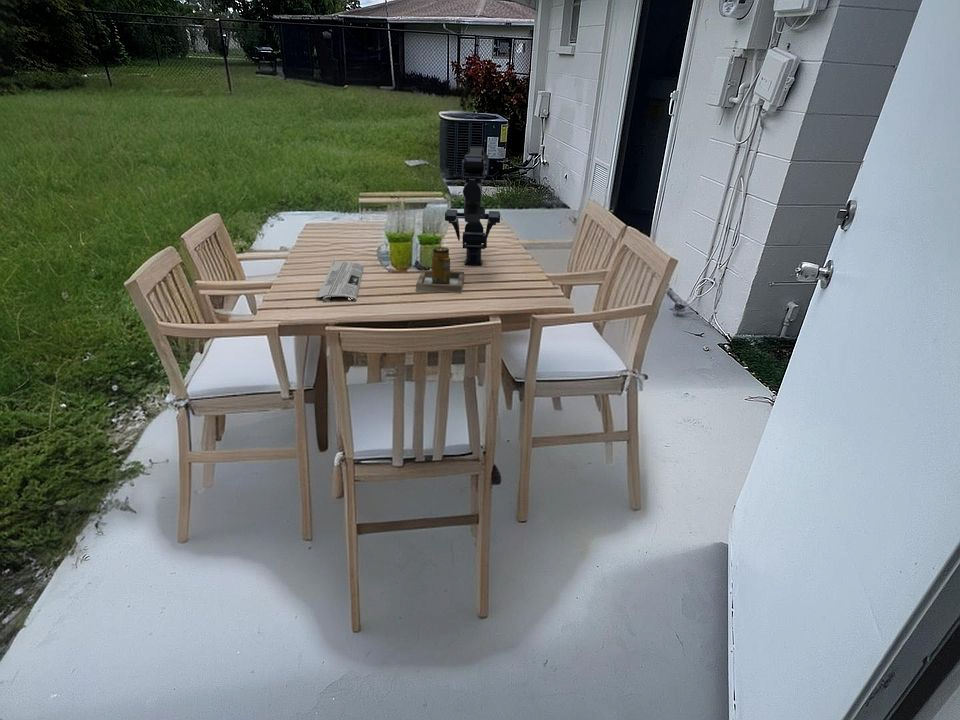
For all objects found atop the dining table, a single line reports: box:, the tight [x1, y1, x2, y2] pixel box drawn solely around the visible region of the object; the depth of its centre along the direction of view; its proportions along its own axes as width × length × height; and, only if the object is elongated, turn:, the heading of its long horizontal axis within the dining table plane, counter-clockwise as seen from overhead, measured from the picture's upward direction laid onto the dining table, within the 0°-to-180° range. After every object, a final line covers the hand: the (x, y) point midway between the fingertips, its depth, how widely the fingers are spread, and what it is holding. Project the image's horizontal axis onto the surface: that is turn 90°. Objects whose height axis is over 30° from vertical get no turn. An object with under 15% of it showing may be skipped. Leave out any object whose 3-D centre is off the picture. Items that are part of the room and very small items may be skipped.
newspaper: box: [315, 259, 364, 303], centre depth 193 cm, size 35×12×4 cm, turn 6°
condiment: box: [428, 246, 455, 285], centre depth 191 cm, size 7×8×12 cm
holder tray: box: [415, 269, 465, 294], centre depth 194 cm, size 15×15×2 cm
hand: (472, 241), depth 197 cm, fingers open, 9 cm apart
